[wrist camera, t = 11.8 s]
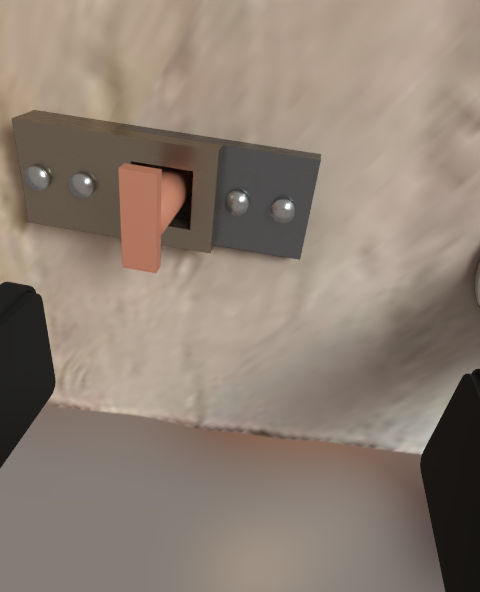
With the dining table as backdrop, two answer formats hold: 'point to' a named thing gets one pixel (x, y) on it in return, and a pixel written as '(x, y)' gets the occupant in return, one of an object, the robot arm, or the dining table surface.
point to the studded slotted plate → (175, 154)
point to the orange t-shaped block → (148, 211)
